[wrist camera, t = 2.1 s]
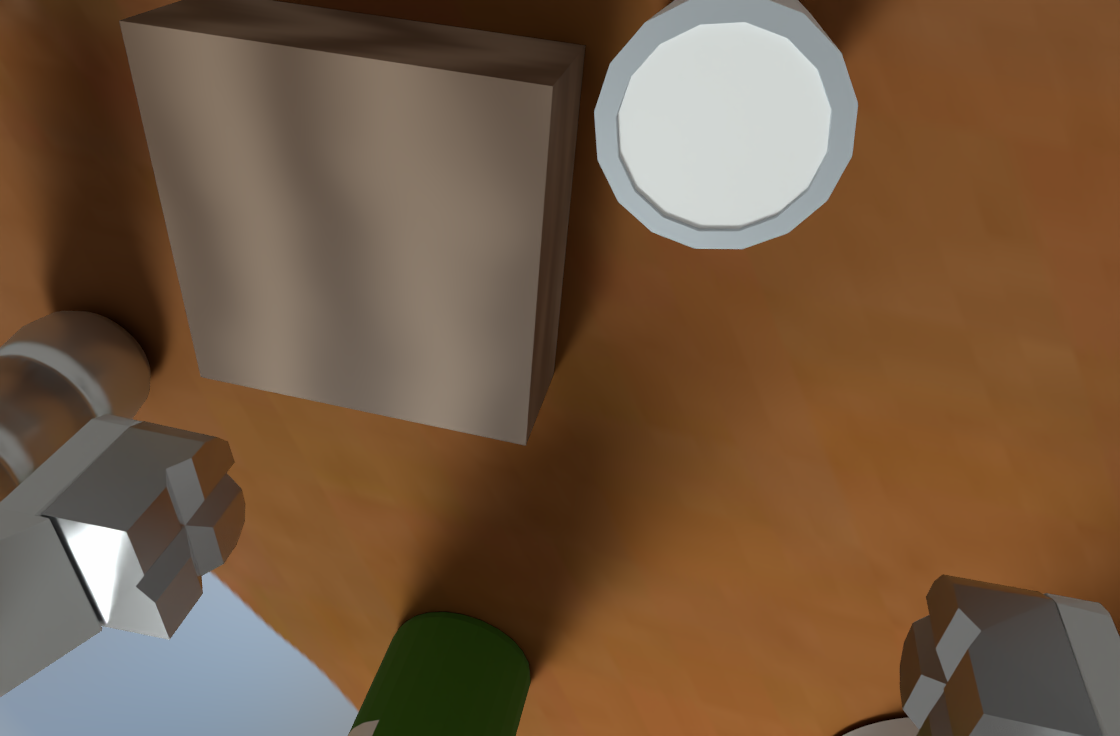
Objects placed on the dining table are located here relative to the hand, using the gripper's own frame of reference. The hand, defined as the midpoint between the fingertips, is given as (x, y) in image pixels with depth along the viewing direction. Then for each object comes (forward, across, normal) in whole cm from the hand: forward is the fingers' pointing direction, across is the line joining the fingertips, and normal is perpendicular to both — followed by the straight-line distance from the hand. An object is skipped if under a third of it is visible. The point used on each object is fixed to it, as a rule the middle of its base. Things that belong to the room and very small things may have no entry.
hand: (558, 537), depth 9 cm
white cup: (+22, +1, 0) cm, 22 cm away
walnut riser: (+22, -11, -7) cm, 25 cm away
